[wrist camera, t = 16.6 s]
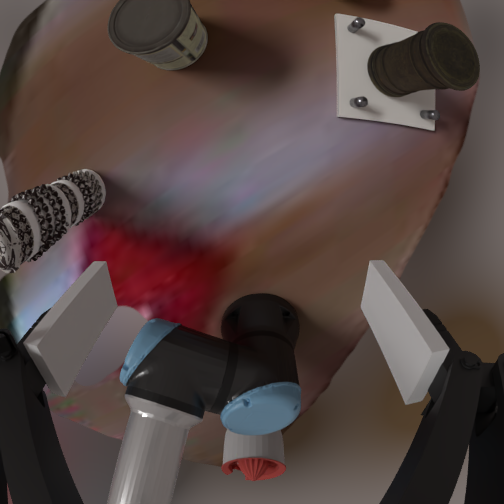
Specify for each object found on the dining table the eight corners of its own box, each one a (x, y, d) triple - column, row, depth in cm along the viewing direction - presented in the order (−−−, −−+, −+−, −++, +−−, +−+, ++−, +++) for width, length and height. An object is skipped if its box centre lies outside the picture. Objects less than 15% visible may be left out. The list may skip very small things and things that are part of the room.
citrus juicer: (211, 422, 74) (204, 482, 56) (247, 395, 68) (246, 464, 50) (255, 438, 78) (255, 494, 60) (294, 414, 72) (300, 477, 54)
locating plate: (431, 130, 42) (447, 132, 37) (336, 116, 42) (346, 116, 37) (428, 37, 34) (444, 32, 29) (334, 15, 34) (342, 5, 30)
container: (378, 103, 39) (442, 100, 23) (357, 52, 36) (410, 22, 20) (421, 90, 38) (491, 87, 21) (401, 42, 34) (464, 18, 18)
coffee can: (142, 25, 35) (105, -2, 22) (203, 9, 34) (185, -28, 21) (148, 78, 39) (110, 65, 26) (212, 63, 38) (194, 40, 26)
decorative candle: (100, 223, 49) (17, 296, 27) (62, 203, 48) (-28, 262, 25) (114, 178, 46) (20, 232, 23) (74, 159, 44) (-28, 199, 21)
